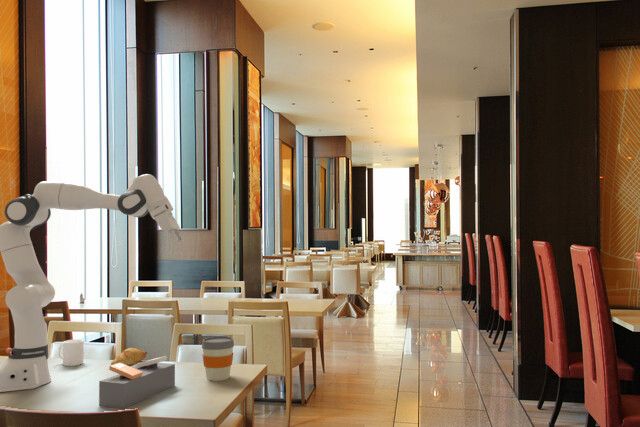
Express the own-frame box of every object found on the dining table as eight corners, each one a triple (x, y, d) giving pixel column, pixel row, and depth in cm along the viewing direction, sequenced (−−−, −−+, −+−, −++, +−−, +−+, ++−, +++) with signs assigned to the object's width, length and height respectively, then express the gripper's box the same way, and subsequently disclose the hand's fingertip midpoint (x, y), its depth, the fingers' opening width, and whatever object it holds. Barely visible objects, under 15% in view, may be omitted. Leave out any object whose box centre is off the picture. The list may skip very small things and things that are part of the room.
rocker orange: (108, 369, 181) (109, 365, 180) (119, 366, 185) (120, 362, 185) (132, 379, 177) (133, 375, 177) (141, 375, 182) (142, 371, 182)
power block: (99, 405, 176) (99, 377, 176) (152, 383, 202) (152, 359, 203) (123, 408, 172) (123, 380, 173) (174, 385, 199) (174, 361, 199)
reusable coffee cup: (201, 383, 202) (201, 343, 203) (202, 374, 214) (201, 337, 215) (234, 380, 205) (234, 341, 205) (233, 372, 217) (233, 335, 218)
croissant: (116, 377, 226) (123, 361, 224) (100, 364, 229) (107, 348, 228) (150, 364, 245) (156, 350, 244) (134, 353, 249) (141, 338, 248)
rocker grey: (137, 367, 193) (136, 363, 194) (145, 364, 198) (145, 360, 198) (159, 362, 190) (158, 358, 191) (167, 359, 195) (166, 355, 195)
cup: (73, 366, 230) (74, 343, 231) (51, 365, 234) (52, 342, 234) (87, 362, 238) (87, 339, 238) (66, 360, 242) (66, 338, 242)
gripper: (159, 215, 222) (175, 244, 222) (148, 213, 202) (166, 244, 202) (173, 208, 223) (189, 237, 223) (163, 205, 202) (181, 236, 203)
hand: (178, 240), depth 212 cm, fingers open, 8 cm apart
